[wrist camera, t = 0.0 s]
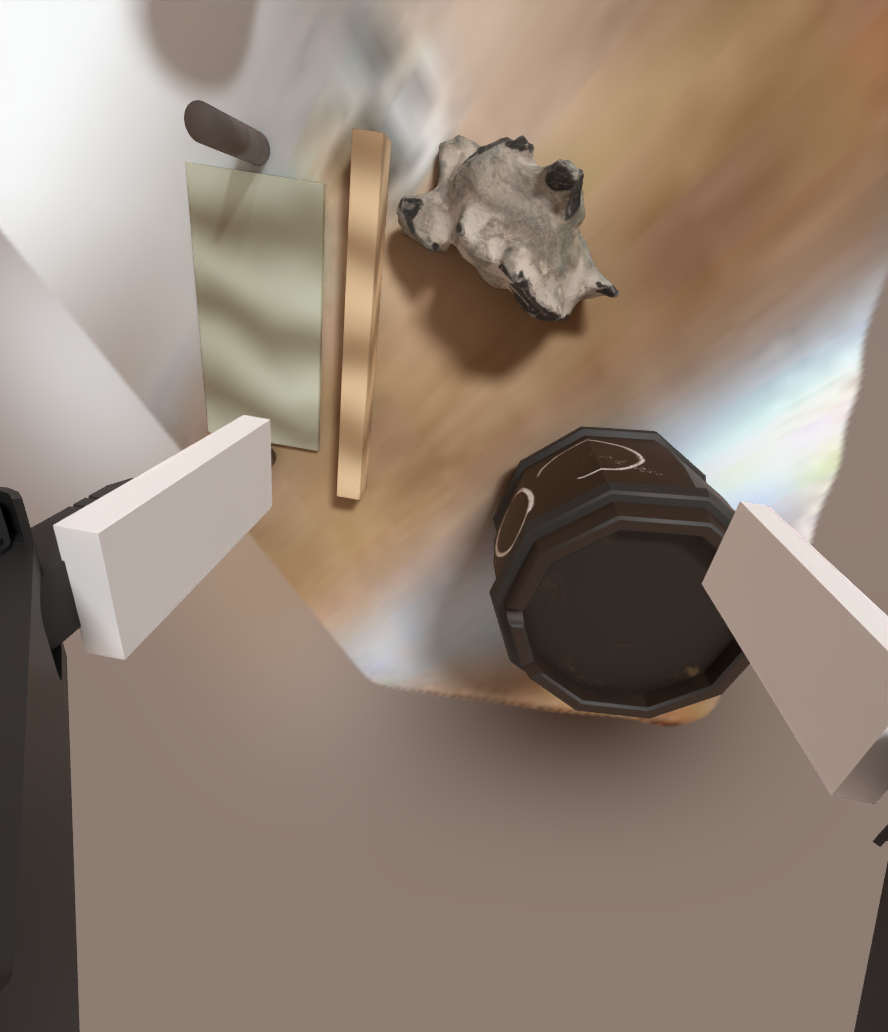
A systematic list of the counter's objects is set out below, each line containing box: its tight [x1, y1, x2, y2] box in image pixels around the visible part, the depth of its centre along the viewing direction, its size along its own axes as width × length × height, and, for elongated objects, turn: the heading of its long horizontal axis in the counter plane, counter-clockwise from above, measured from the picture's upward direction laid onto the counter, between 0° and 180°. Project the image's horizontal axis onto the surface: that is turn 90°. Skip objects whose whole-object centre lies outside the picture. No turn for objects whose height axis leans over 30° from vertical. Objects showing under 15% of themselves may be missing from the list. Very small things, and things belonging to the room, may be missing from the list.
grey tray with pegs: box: [184, 100, 391, 500], centre depth 37 cm, size 26×14×7 cm, turn 172°
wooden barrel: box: [490, 427, 750, 718], centre depth 38 cm, size 18×18×16 cm
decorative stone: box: [397, 135, 619, 322], centre depth 32 cm, size 16×9×10 cm, turn 70°
